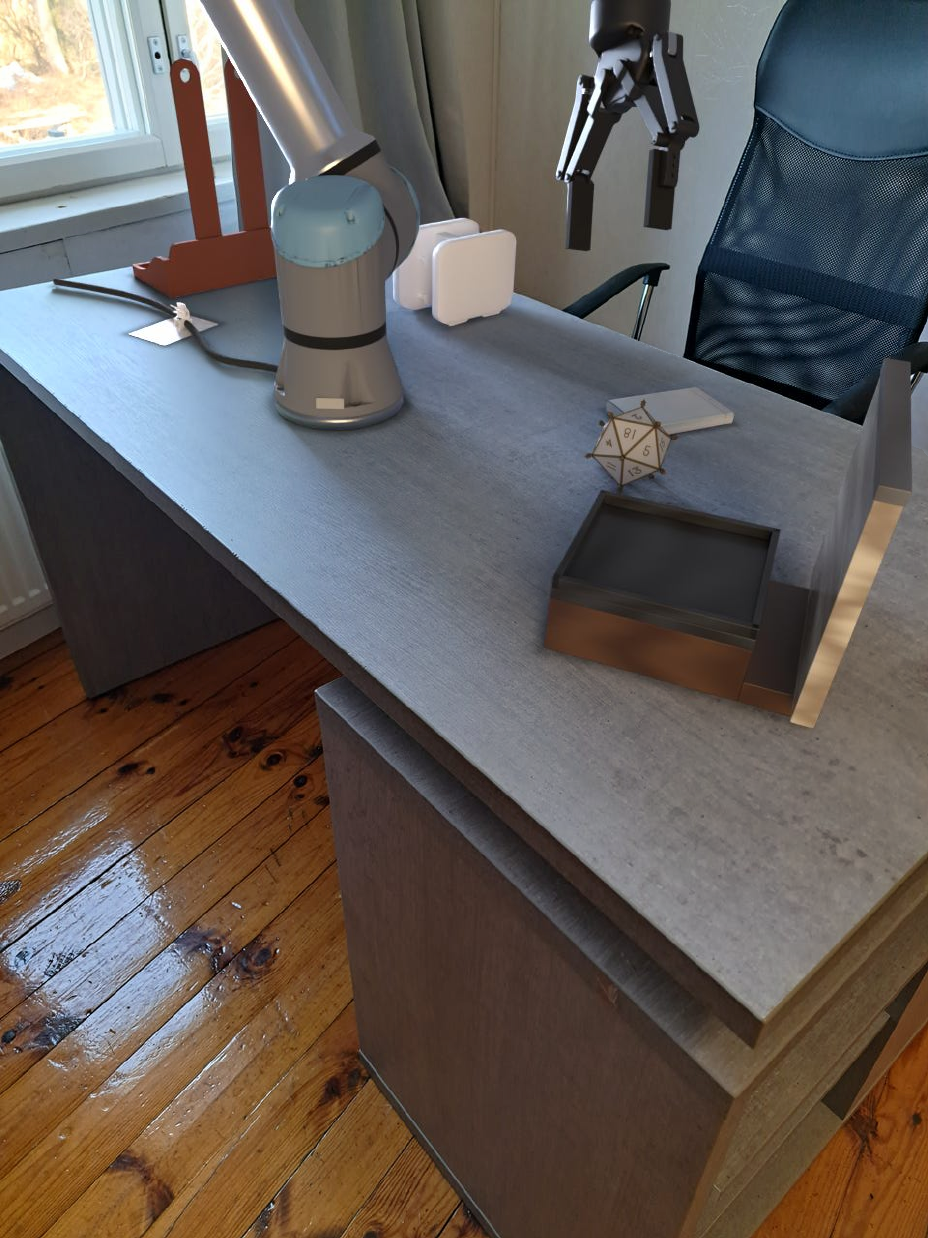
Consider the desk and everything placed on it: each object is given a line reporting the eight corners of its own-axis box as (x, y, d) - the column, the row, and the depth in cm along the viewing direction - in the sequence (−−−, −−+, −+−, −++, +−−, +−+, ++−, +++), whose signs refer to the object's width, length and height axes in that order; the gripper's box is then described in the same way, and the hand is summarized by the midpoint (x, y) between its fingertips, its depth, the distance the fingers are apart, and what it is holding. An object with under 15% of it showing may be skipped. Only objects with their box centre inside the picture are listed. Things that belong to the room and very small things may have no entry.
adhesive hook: (196, 326, 120) (192, 303, 118) (182, 331, 119) (177, 309, 117) (180, 321, 122) (176, 299, 120) (166, 327, 120) (162, 304, 118)
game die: (606, 516, 91) (557, 451, 86) (627, 458, 95) (583, 392, 89) (682, 503, 85) (635, 432, 79) (702, 442, 89) (659, 370, 83)
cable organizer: (434, 332, 121) (434, 246, 114) (390, 311, 128) (388, 227, 120) (513, 311, 129) (518, 229, 122) (469, 292, 135) (471, 213, 128)
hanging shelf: (267, 250, 149) (245, 43, 131) (308, 269, 142) (290, 53, 123) (134, 275, 137) (88, 51, 118) (170, 297, 129) (127, 61, 110)
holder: (531, 671, 66) (557, 420, 53) (600, 538, 81) (634, 316, 68) (806, 751, 61) (912, 492, 47) (826, 592, 75) (910, 361, 62)
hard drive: (643, 428, 96) (735, 411, 100) (606, 398, 102) (694, 384, 106) (641, 441, 97) (732, 424, 101) (605, 411, 103) (692, 396, 107)
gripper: (757, -51, 72) (730, 222, 77) (590, 52, 94) (578, 260, 99) (686, -75, 69) (664, 211, 74) (530, 37, 91) (521, 253, 96)
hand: (614, 239), depth 86 cm, fingers open, 13 cm apart
